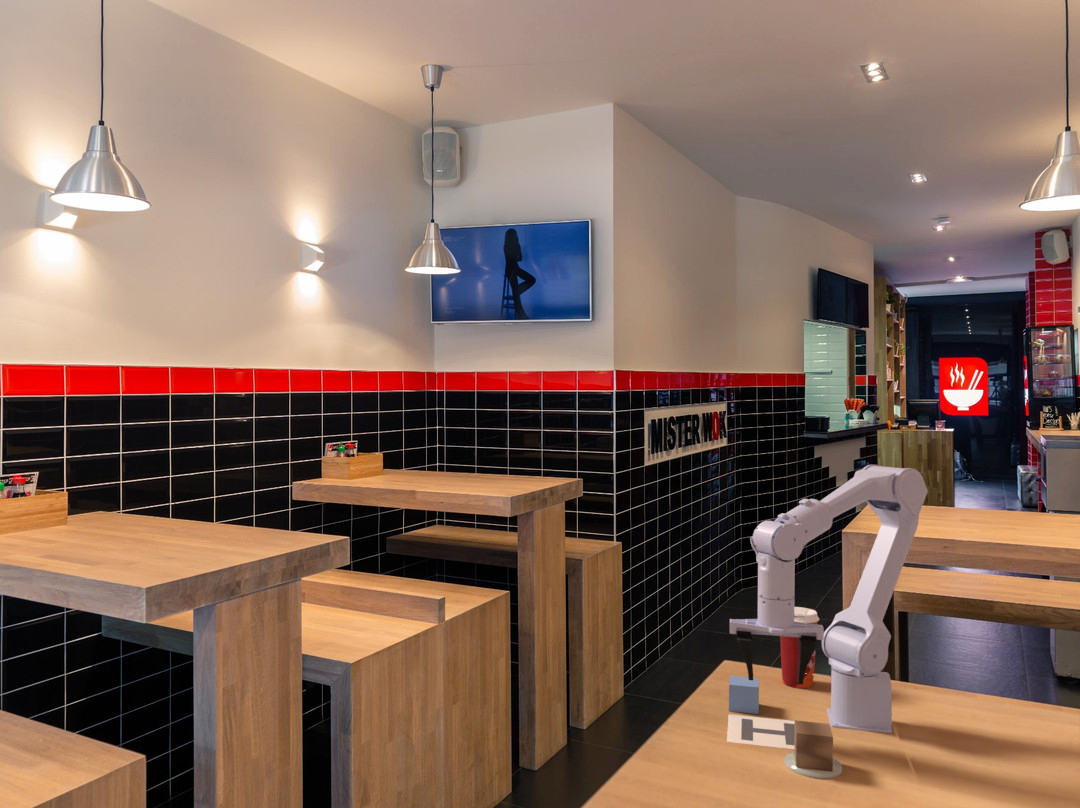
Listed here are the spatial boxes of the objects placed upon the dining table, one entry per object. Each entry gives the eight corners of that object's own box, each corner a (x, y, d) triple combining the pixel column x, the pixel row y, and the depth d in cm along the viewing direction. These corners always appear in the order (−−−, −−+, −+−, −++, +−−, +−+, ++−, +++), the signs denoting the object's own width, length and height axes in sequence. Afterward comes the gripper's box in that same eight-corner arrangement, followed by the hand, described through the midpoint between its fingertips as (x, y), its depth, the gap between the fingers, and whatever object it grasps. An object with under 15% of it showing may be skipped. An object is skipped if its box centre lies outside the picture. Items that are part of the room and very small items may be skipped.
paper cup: (821, 691, 152) (822, 616, 153) (778, 688, 154) (779, 614, 154) (815, 678, 160) (816, 607, 160) (775, 675, 162) (776, 604, 162)
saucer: (838, 760, 123) (838, 754, 123) (845, 783, 115) (845, 777, 115) (783, 753, 125) (783, 748, 125) (785, 776, 117) (785, 771, 117)
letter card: (808, 724, 137) (808, 722, 137) (813, 753, 125) (813, 751, 125) (728, 715, 140) (728, 713, 140) (726, 743, 128) (726, 741, 128)
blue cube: (758, 706, 145) (758, 678, 145) (758, 716, 140) (758, 687, 140) (729, 703, 146) (729, 675, 146) (728, 713, 141) (729, 684, 141)
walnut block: (829, 757, 122) (829, 724, 122) (832, 771, 117) (833, 736, 117) (794, 753, 123) (794, 720, 123) (796, 767, 118) (796, 733, 118)
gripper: (730, 599, 130) (729, 684, 130) (826, 604, 126) (825, 692, 126) (730, 589, 136) (729, 670, 136) (821, 594, 133) (820, 678, 133)
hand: (775, 680), depth 132 cm, fingers open, 7 cm apart
